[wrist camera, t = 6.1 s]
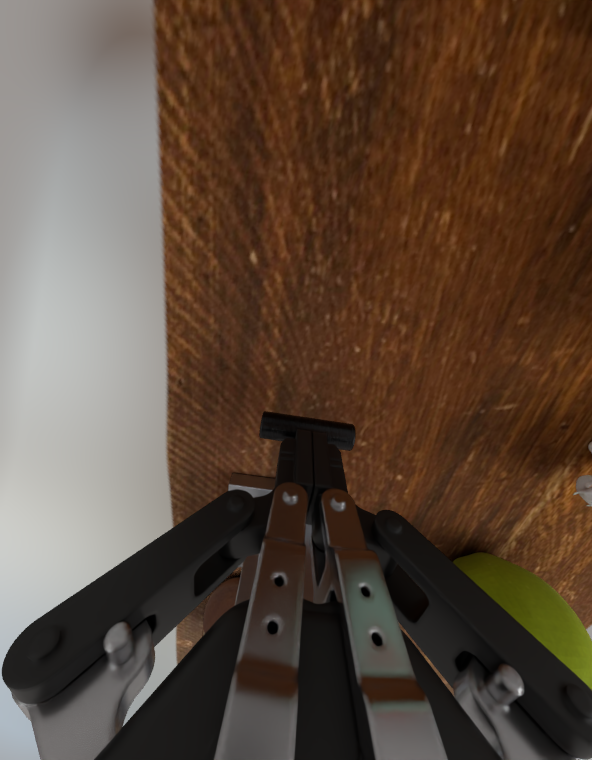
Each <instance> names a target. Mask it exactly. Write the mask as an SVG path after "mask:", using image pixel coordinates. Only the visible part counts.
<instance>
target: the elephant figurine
mask: <svg viewBox="0 0 592 760" xmlns="http://www.w3.org/2000/svg"><path fill="white" fill-rule="evenodd" d="M588 448H589V450H590V452H591V453H592V442H590V443H589V445H588ZM591 485H592V476H591V475H585V476H580V477H579V478H578V479H577V482H576V490H577V492H575V493H574V494H573V495H575V494H579V495H580V496H581V497H582V498H583V499H584V500H585V501H586V502H587V503H588V504H590V505H587V506H592V487H590V486H591ZM589 487H590V488H589Z"/></svg>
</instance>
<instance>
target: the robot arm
mask: <svg viewBox="0 0 592 760" xmlns="http://www.w3.org/2000/svg"><path fill="white" fill-rule="evenodd" d="M306 524H307V525H311V527H312V533H311V537H310V541H309V545H310V555H311V566H312V577H313V588H314V598H313V602H311V601H308V600H306V599H304V598H303V591H304V576H305V562H306V544H305V530H306ZM256 554H260V556H259V561H258V565H257V570H256V574H255V579H254V583H253V588H252V592H251V597H250V599H248V600H245V601H243V602H241V603H239V604H237V605H235V606H233V607H232V608H230V609H229V610H228V611H226V612H225V613H224V614H223V615H222V616H221V617H220V618H219V619H218V620H217V621H216V622H215V623H214V624H213V625H212V626H211V628H210V629H209V630H208V631H207V632H206V633H205V634H204V635H203V637H202V638H201V639H200V640H199V641H198V642H197V643H196V645H195V646H194V647H193V648H192V649H191V650H190V651H189V652H188V654H187V655H186V656H185V657H184V658H183V659H182V660H181V662H180V663H179V664H178V665H177V666H176V667H175V668H174V670H173V671H172V672H171V673H170V674H169V675H168V676H167V677H166V679H165V680H164V681H163V682H162V683H161V684H160V685H159V687H158V688H157V689H156V690H155V691H154V692H153V694H151V696H150V697H149V698H148V699H147V700H146V701H145V703H144V704H143V705H142V706H141V707H140V708H139V709H138V710H137V711H136V713H135V714H134V715H133V716H132V717H131V718H130V720H128V722H127V723H126V724H125V725H124V726H123V723H124V719H125V716H126V714H127V711H128V709H129V707H130V705H131V704H132V702H133V701H134V699H135V697H136V696H137V695H138V694H139V692H140V691H141V690H142V689H143V687H144V686H145V684H146V683H147V681H148V679H149V677H150V675H151V672H152V670H153V667H154V662H155V651H154V647H155V646H156V645H157V644H158V643H159V642H160V641H161V640H162V639H163V638H164V637H165V636H166V635H167V634H168V633H169V632H170V631H172V630H173V628H175V627H176V626H177V625H178V624H179V623H180V622H181V621H182V620H183V619H184V618H185V617H186V616H187V615H188V614H189V613H190V612H191V611H192V610H194V609H195V608H196V607H197V606H198V605H199V604H200V603H201V602H202V601H203V600H204V599H205V598H206V597H207V596H208V595H209V594H210V593H211V592H212V591H213V590H214V589H215V588H216V587H218V586H219V585H220V584H221V583H222V582H223V581H224V580H225V579H226V578H227V577H228V576H229V575H230V574H231V573H232V572H233V571H234V570H235V569H236V568H237V567H238V566H239V565H241V564H242V563H243V562H244V560H245V559H246V558H247V556H252V555H256ZM406 573H407V574H408V575H409V576H410V577H411V578H412V579H411V578H410V577H409V576H408V575H407V574H406ZM422 590H423V591H424V592H423V591H422ZM398 622H399V623H400V624H401V625H402V626H403V628H404V629H405V630H406V631H407V633H408V634H409V635H410V636H411V638H412V639H413V640H414V641H415V642H416V644H417V645H418V646H419V647H420V649H421V650H422V651H423V652H424V654H425V655H426V656H427V657H428V658H429V660H430V661H431V662H432V663H433V665H434V666H435V667H436V668H437V670H438V671H439V672H440V673H441V674H442V676H443V677H444V678H445V679H446V681H447V682H448V683H449V684H450V686H451V687H452V688H453V690H454V696H455V697H454V696H453V695H452V693H451V692H450V691H449V690H448V688H447V687H446V686H445V684H444V683H443V682H442V680H441V679H440V678H439V676H438V675H437V674H436V673H435V671H434V670H433V669H432V667H431V666H430V665H429V663H428V662H427V661H426V660H425V658H424V657H423V656H422V654H421V653H420V652H419V650H418V649H417V648H416V646H415V645H414V644H413V643H412V641H411V640H410V639H409V638H408V637H407V635H406V634H405V633H404V632H403V631H402V630H401V629H400V627H399V623H398ZM2 677H3V680H4V682H5V684H6V685H7V687H8V688H9V689H10V691H11V692H12V697H13V699H14V701H15V702H16V704H17V705H18V706H19V708H20V709H21V710H22V711H23V713H24V714H25V715H26V717H27V718H28V719H29V720H30V721H31V722H32V727H33V731H34V735H35V739H36V742H37V747H38V751H39V755H40V759H41V760H588V759H590V758H592V690H591V689H590V688H589V687H588V686H587V685H586V684H585V683H584V682H583V681H582V680H581V679H580V678H579V677H578V676H577V675H576V674H575V673H574V672H572V671H571V670H570V669H569V668H568V667H567V666H566V665H565V664H564V663H563V662H561V661H560V660H559V659H558V658H557V657H556V656H555V655H554V654H553V653H552V652H550V651H549V650H548V649H547V648H546V647H545V646H544V645H543V644H542V643H541V642H539V641H538V640H537V639H536V638H535V637H534V636H533V635H532V634H531V633H530V632H529V631H527V630H526V629H525V628H524V627H523V626H522V625H521V624H520V623H519V622H518V621H516V620H515V619H514V618H513V617H512V616H511V615H510V614H509V613H508V612H507V611H505V610H504V609H503V608H502V607H501V606H500V605H499V604H498V603H497V602H496V601H494V600H493V599H492V598H491V597H490V596H489V595H488V594H487V593H486V592H485V591H483V590H482V589H481V588H480V587H479V586H478V585H477V584H476V583H475V582H474V581H473V580H471V579H470V578H469V577H468V576H467V575H466V574H465V573H464V572H463V571H462V570H460V569H459V568H458V567H457V566H456V565H455V564H454V563H453V562H452V561H451V560H449V559H448V558H447V557H446V556H445V555H444V554H443V553H442V552H441V551H440V550H438V549H437V548H436V547H435V546H434V545H433V544H432V543H431V542H430V541H429V540H427V539H426V538H425V537H424V536H423V535H422V534H421V533H420V532H419V531H418V530H417V529H415V528H414V527H413V526H412V525H411V524H410V523H409V522H408V521H407V520H406V519H404V518H403V517H402V516H401V515H399V514H398V513H396V512H394V511H390V510H382V511H380V512H378V513H377V515H374V514H372V513H370V512H367V511H365V510H363V509H361V508H359V507H358V506H357V505H355V503H354V500H353V499H352V497H351V496H350V495H349V494H348V491H347V486H346V480H345V474H344V469H343V463H342V458H341V452H340V451H339V449H338V448H337V447H336V445H333V444H328V442H327V434H326V433H320V432H313V431H312V432H311V431H306V430H299V429H297V431H296V436H295V439H291V438H285V439H284V441H283V442H282V443H281V446H280V452H279V458H278V464H277V471H276V479H275V488H274V489H273V490H272V491H271V492H270V493H268V494H267V495H264V496H260V497H254V498H253V497H252V495H251V494H250V493H248V492H247V491H244V490H240V489H235V490H230V491H227V492H226V493H224V494H223V495H221V496H220V497H218V498H217V499H215V500H214V501H212V502H211V503H209V504H208V505H206V506H205V507H203V508H202V509H200V510H199V511H197V512H196V513H194V514H193V515H191V516H190V517H188V518H187V519H185V520H184V521H183V522H181V523H180V524H178V525H177V526H175V527H174V528H172V529H171V530H169V531H168V532H166V533H165V534H163V535H162V536H160V537H159V538H157V539H156V540H154V541H153V542H151V543H150V544H148V545H147V546H145V547H144V548H143V549H141V550H140V551H138V552H136V553H135V554H134V555H132V556H131V557H129V558H128V559H126V560H125V561H123V562H122V563H120V564H119V565H117V566H116V567H114V568H113V569H111V570H110V571H108V572H107V573H105V574H104V575H102V576H101V577H99V578H98V579H96V580H95V581H94V582H92V583H91V584H89V585H88V586H86V587H85V588H83V589H82V590H80V591H79V592H77V593H76V594H74V595H73V596H71V597H70V598H68V599H67V600H65V601H64V602H62V603H61V604H60V605H58V606H56V607H55V608H53V609H52V610H50V611H49V612H48V613H46V614H44V615H43V616H42V617H40V618H39V619H37V620H36V621H34V622H33V623H32V624H30V625H29V626H28V627H27V628H26V629H25V630H24V631H23V632H22V633H21V634H20V635H19V636H18V637H17V639H16V640H15V641H14V643H13V644H12V646H11V647H10V649H9V650H8V652H7V654H6V657H5V659H4V662H3V667H2ZM122 726H123V727H122Z"/></svg>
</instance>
